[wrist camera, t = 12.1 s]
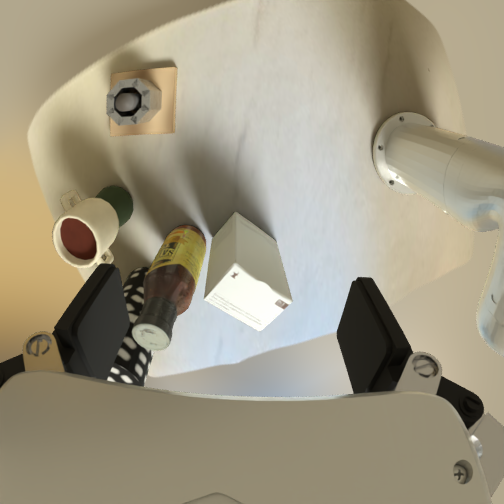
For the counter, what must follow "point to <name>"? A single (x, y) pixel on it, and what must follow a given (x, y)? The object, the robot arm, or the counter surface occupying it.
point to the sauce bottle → (169, 286)
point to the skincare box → (246, 274)
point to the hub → (149, 101)
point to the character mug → (90, 226)
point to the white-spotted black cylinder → (131, 353)
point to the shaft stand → (133, 102)
